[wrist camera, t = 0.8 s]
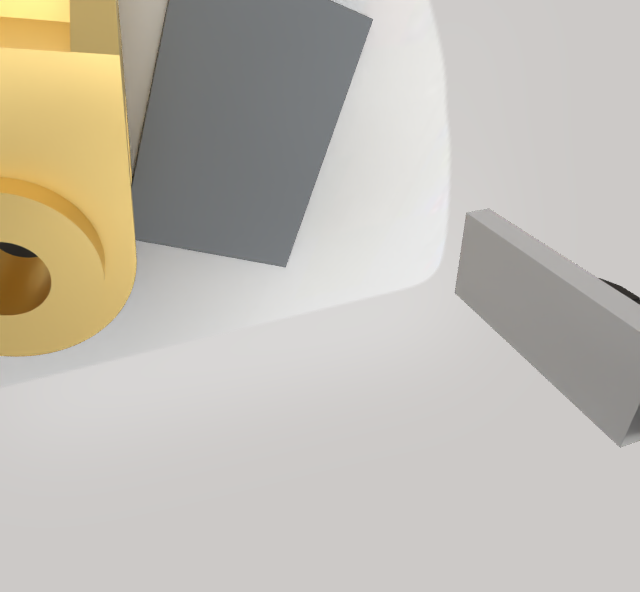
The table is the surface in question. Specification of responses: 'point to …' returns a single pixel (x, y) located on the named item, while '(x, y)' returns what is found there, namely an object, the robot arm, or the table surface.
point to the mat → (241, 122)
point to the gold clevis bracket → (63, 174)
